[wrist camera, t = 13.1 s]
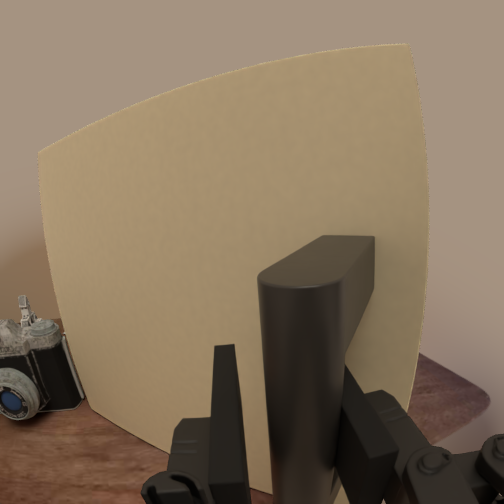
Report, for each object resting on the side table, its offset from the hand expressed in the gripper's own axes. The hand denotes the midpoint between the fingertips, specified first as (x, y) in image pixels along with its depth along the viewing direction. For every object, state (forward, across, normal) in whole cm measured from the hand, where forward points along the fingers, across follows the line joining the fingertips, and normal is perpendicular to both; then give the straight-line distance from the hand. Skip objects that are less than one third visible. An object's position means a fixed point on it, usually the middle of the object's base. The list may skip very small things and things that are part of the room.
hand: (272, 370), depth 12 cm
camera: (+11, -25, -12) cm, 30 cm away
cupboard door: (+4, -7, -12) cm, 14 cm away
